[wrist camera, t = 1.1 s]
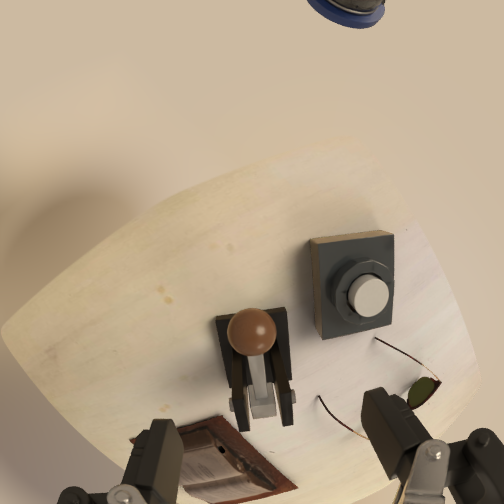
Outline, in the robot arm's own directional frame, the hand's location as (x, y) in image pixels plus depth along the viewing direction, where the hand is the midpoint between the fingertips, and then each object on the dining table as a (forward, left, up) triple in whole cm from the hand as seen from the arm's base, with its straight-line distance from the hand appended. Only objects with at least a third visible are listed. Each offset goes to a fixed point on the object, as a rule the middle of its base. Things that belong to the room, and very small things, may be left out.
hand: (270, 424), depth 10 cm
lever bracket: (+9, 0, -22) cm, 24 cm away
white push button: (+2, +12, -17) cm, 21 cm away
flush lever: (+4, 0, -11) cm, 12 cm away
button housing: (+2, +12, -22) cm, 25 cm away
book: (+36, -10, -22) cm, 44 cm away
